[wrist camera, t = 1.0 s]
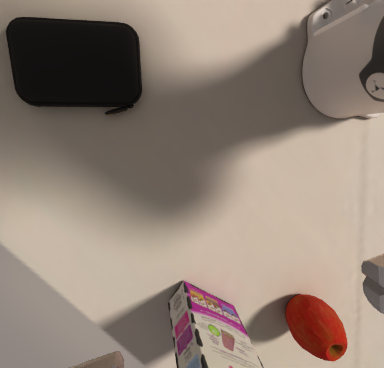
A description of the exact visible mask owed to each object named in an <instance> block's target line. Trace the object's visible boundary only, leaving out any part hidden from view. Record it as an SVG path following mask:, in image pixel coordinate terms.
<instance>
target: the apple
mask: <svg viewBox="0 0 384 368" xmlns="http://www.w3.org/2000/svg"><path fill="white" fill-rule="evenodd" d="M285 315H286V321H287V324H288V326H289V329H290V331H291V334H292V336H293V338H294V339H295V340H296V341H297V343H298V344H299V345H300V346H301V347H302V348H303V349H305V350H306V351H308V352H309V353H311V354H312V355H314V356H316V357H318V358H320V359H323V360H327V361H336V360H338V359H339V358H340V357H342V356H343V355H344V353H345V351H346V349H347V338H346V333H345V330H344V327H343V324H342V322H341V320H340V319H339V317H338V315H337V314H336V312H335V311H334V310H333V309H332V308H331V307H330V306H329V305H328V304H326V303H325V302H324V301H323V300H321V299H319V298H317V297H314V296H311V295H297V296H295V297H293V298H292V299H291V300H290V301H289V303H288V305H287V307H286V312H285Z"/></svg>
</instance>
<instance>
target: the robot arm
mask: <svg viewBox="0 0 384 368" xmlns="http://www.w3.org/2000/svg"><path fill="white" fill-rule="evenodd" d="M323 15H324V16H325V19H324V18H323ZM307 34H308V44H307V48H306V52H305V56H304V60H303V68H302V77H303V84H304V88H305V91H306V94H307V96H308V98H309V100H310V102H311V103H312V104H313V106H314V107H315V108H316V109H317V110H318V111H320V112H321V113H323V114H324V115H327V116H329V117H333V118H348V117H352V116H361V117H364V118H376V117H379V116H380V115H381V114H382V113H383V112H384V0H331V1H330V2H328V3H327V4H325V5H324V6H322V7H321V8H319V9H318V10H316V11H315V12H313V13H312V14H311V15H310V16H309V18H308V22H307ZM361 267H362V273H363V274H364V275H365V276H366V278H365V280H364V282H363V291H364V294H365V296H366V297H367V299H368V301H369V302H370V303H371V304H372V306H373V307H374V308H376V309H377V310H378V311H379V312H381V313H383V314H384V254H382V255H379V256H376V257H374V258H371V259H368V260H366V261H363V263H362V266H361ZM69 368H124V359H123V357H122V355H121V353H120V352H119V351H116V352H113V353H110V354H107V355H104V356H101V357H98V358H96V359H92V360H89V361H86V362H84V363H82V364H79V365H76V366H73V367H69Z"/></svg>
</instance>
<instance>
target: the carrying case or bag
mask: <svg viewBox="0 0 384 368" xmlns="http://www.w3.org/2000/svg"><path fill="white" fill-rule="evenodd" d="M6 36H7V42H8V48H9V54H10V60H11V67H12V73H13V79H14V85H15V90H16V92H17V94H18V95H19V97H20V98H21V99H22V100H23V101H25V102H26V103H28V104H30V105H34V106H37V107H42V106H53V107H120V108H116V109H113V110H110V111H107V112H105V114H106V115H111V114H115V113H120V112H123V111H126V110H127V109H128V108H132V107H133V106H134V105H133V104H134V103H136V102H137V101H138V100H139V98H140V96H141V93H142V83H141V64H140V45H139V37H138V35H137V33H136V31H135V30H134V29H133V28H132V27H131V26H129V25H128V24H125V23H119V22H105V21H86V20H69V19H51V18H34V17H19V18H15V19H13V20H12V21H11V22H10V23H9V24H8V26H7V30H6ZM126 106H127V107H126ZM131 106H132V107H131Z"/></svg>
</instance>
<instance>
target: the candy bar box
mask: <svg viewBox="0 0 384 368" xmlns="http://www.w3.org/2000/svg"><path fill="white" fill-rule="evenodd" d="M168 305H169V312H170V319H171V327H172V335H173V341H174V348H175V357H176V364H177V368H263V366H262V363H261V361H260V359H259V357H258V355H257V353H256V351H255V349H254V347H253V345H252V343H251V341H250V339H249V337H248V335H247V333H246V330H245V328H244V326H243V324H242V322H241V320H240V318H239V316H238V314H237V312H236V310H235V308H234V306H233V305H231V304H229V303H227V302H225V301H223V300H221V299H219V298H217V297H215V296H213V295H211V294H209V293H207V292H205V291H203V290H201V289H199V288H197V287H195V286H193V285H191V284H189V283H187V282H185V281H183V282H182V283H181V285H180V286H179V288H178V289H177V290H176V292H175V293H174V294H173V296H172V297H171V298H170V300H169V301H168Z"/></svg>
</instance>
